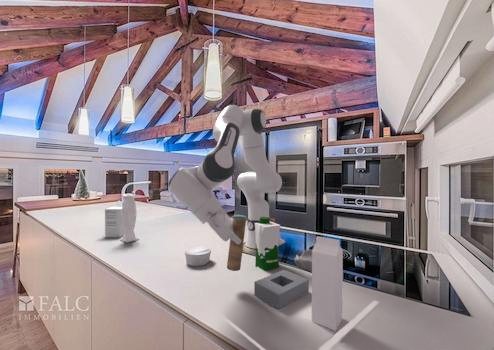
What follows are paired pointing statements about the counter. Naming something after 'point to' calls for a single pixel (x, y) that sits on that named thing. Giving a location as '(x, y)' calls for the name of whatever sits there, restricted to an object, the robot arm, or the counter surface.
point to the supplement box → (113, 222)
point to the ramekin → (197, 255)
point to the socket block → (281, 288)
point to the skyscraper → (129, 217)
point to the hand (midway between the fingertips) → (239, 239)
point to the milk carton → (267, 244)
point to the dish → (305, 260)
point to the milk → (327, 282)
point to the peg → (234, 248)
